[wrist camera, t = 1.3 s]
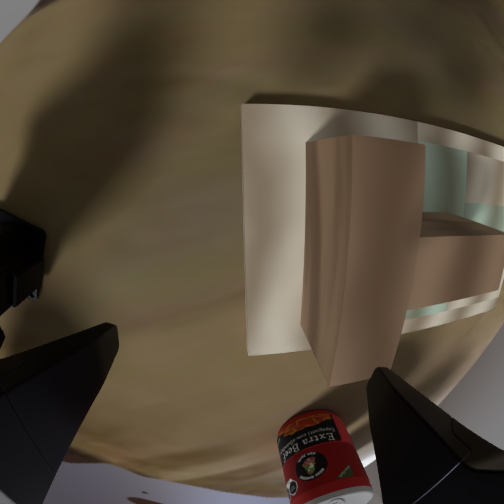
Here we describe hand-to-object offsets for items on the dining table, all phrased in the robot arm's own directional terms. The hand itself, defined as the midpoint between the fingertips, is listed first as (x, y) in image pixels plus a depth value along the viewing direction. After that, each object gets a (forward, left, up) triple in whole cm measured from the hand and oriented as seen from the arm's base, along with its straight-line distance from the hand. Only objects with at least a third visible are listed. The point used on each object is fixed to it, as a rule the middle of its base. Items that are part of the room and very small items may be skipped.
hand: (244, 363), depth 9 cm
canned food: (+16, -16, -12) cm, 26 cm away
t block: (+10, +6, -11) cm, 16 cm away
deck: (+14, +7, -12) cm, 20 cm away
